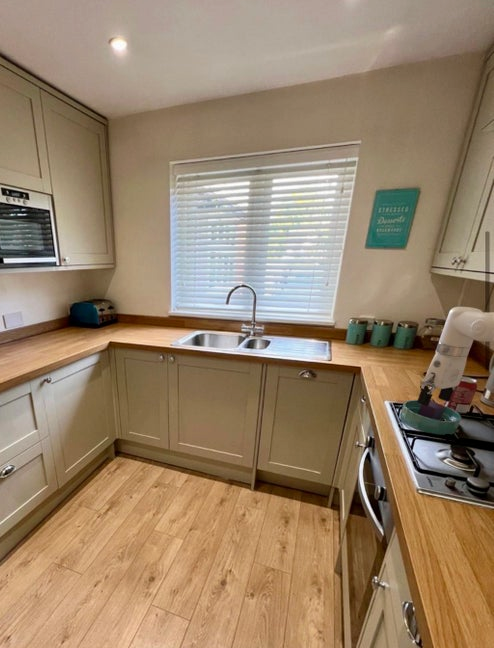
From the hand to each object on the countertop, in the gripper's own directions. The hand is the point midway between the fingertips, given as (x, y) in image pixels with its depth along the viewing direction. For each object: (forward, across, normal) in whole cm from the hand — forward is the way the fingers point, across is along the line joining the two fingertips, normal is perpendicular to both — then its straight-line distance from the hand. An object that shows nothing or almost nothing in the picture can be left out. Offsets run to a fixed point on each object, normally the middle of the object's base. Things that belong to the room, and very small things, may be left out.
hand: (433, 401), depth 104 cm
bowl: (+8, 0, 0) cm, 8 cm away
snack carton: (+7, 0, 0) cm, 7 cm away
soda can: (+8, +19, +3) cm, 21 cm away
